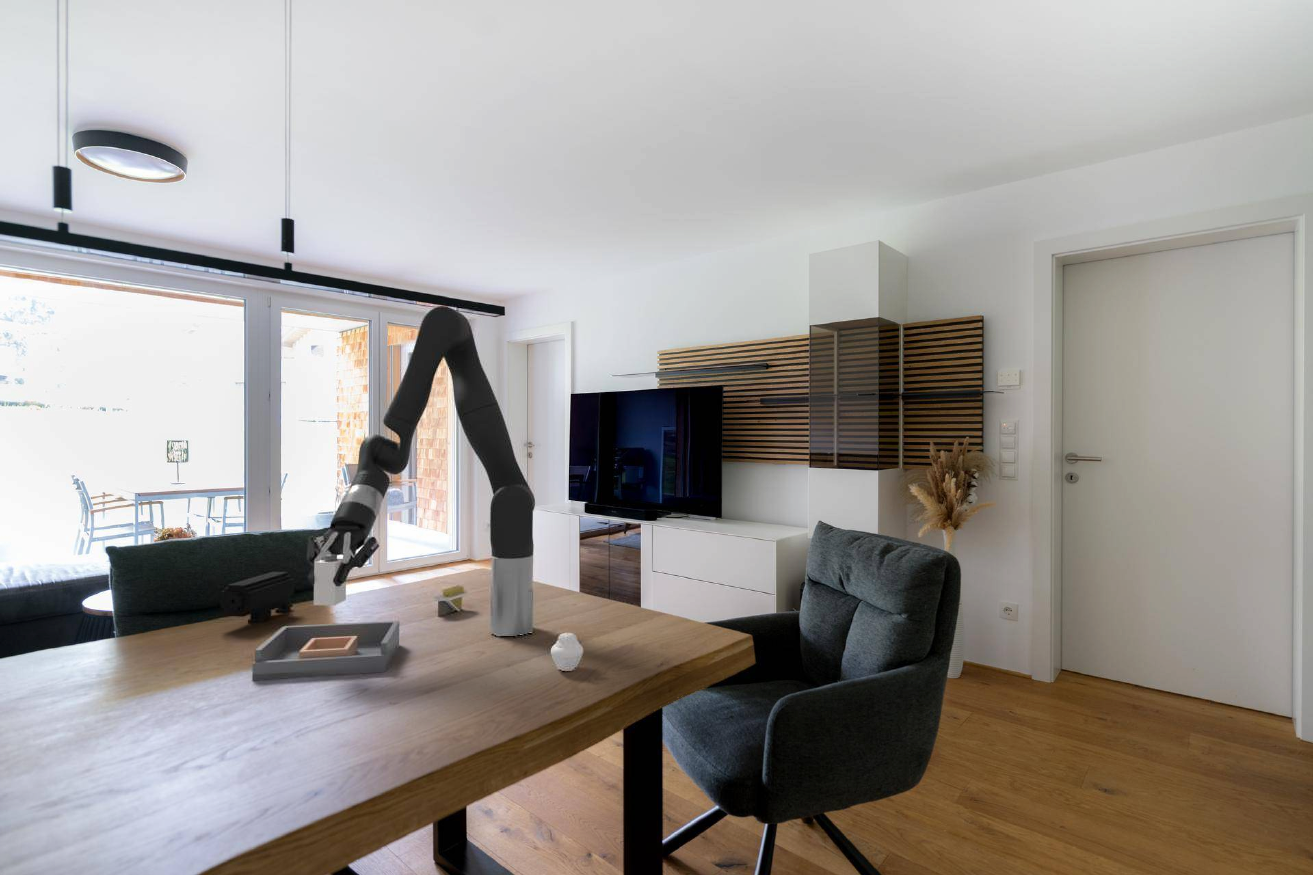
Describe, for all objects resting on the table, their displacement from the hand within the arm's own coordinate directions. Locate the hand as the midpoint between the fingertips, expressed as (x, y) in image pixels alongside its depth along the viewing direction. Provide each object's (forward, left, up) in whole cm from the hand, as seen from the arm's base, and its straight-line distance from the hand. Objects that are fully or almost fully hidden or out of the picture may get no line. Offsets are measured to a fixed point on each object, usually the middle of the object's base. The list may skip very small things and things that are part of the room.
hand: (324, 583), depth 120 cm
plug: (-1, -2, -4) cm, 5 cm away
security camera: (+23, -37, -16) cm, 46 cm away
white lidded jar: (-45, +9, -16) cm, 48 cm away
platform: (-20, -35, -17) cm, 44 cm away
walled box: (-1, -4, -16) cm, 16 cm away
